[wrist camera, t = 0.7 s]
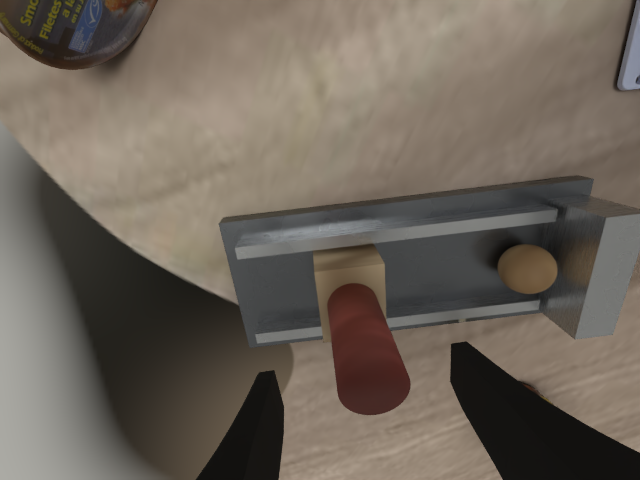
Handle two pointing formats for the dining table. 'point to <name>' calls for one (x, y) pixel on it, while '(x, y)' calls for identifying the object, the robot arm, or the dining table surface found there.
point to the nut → (527, 268)
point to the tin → (73, 29)
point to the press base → (441, 257)
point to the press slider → (359, 329)
